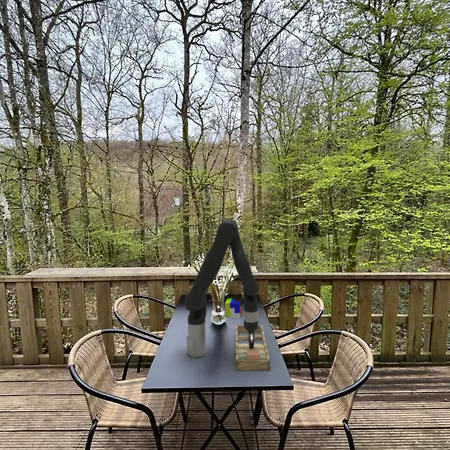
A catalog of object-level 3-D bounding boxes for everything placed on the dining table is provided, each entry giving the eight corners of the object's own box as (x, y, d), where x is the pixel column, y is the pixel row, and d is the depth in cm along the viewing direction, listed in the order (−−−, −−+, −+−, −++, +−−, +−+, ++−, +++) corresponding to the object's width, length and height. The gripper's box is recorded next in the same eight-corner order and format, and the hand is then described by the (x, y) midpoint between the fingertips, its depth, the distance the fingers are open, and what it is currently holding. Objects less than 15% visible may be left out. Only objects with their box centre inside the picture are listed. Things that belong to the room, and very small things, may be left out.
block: (260, 365, 140) (259, 355, 140) (247, 365, 140) (247, 355, 140) (259, 358, 146) (258, 348, 146) (246, 358, 146) (246, 348, 146)
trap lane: (269, 370, 139) (269, 361, 139) (236, 370, 140) (235, 361, 139) (262, 332, 179) (262, 325, 178) (235, 332, 179) (235, 325, 179)
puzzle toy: (239, 318, 202) (239, 303, 201) (225, 317, 204) (224, 303, 203) (241, 312, 211) (241, 298, 210) (227, 311, 213) (227, 298, 212)
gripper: (259, 324, 142) (259, 358, 144) (257, 313, 156) (257, 345, 157) (243, 324, 143) (244, 358, 144) (243, 313, 156) (243, 345, 157)
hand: (251, 351), depth 151 cm, fingers closed
